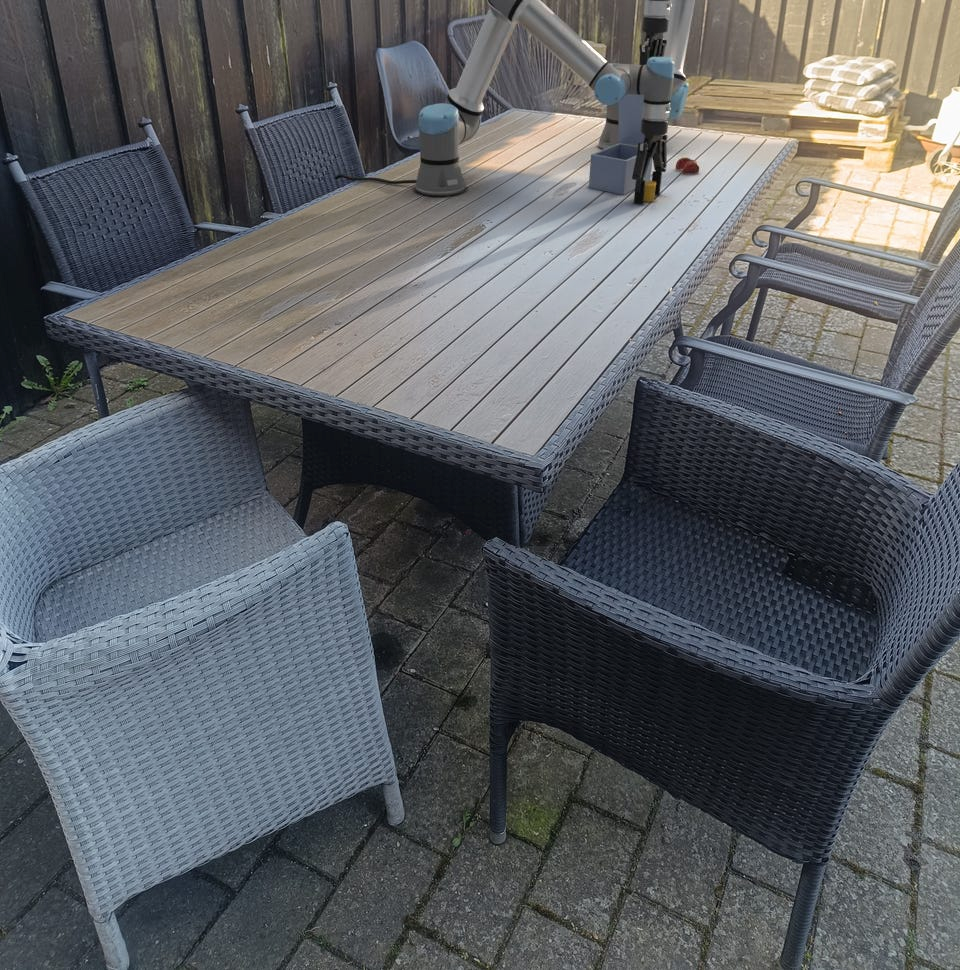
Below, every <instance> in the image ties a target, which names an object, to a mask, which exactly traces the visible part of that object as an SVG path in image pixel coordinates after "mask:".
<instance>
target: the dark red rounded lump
mask: <svg viewBox="0 0 960 970" xmlns="http://www.w3.org/2000/svg"><path fill="white" fill-rule="evenodd" d="M675 170H681V173H682V174H683V175H690V174H698V173H699V172H700V166H699V164H698V162H697V160H695V159H691V158H690V157H686V156H685V157H681V158H679V159H678V160H677V162H676V164H675Z"/></svg>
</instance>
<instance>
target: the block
mask: <svg viewBox="0 0 960 970" xmlns="http://www.w3.org/2000/svg"><path fill="white" fill-rule="evenodd" d="M655 187H656V181H652V180H650V181H645V191H644V200H643V202H649V203H654V201H655V196H656V195H655Z"/></svg>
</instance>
